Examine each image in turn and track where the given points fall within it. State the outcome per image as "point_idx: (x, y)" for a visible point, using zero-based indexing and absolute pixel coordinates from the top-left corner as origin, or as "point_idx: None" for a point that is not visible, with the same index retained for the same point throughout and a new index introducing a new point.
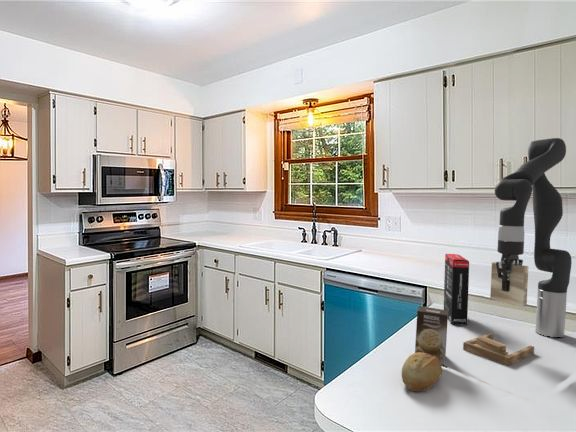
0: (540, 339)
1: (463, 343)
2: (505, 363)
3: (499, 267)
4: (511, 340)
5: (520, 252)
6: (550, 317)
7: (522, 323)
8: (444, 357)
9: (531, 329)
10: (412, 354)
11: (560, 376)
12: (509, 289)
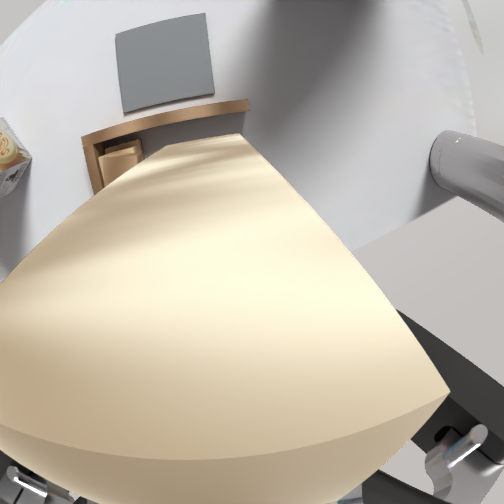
0: (403, 162)
1: (82, 137)
2: None
3: (10, 457)
4: (330, 122)
5: None
6: (466, 185)
7: (466, 90)
8: (2, 196)
9: (448, 119)
10: None
11: None
12: None
